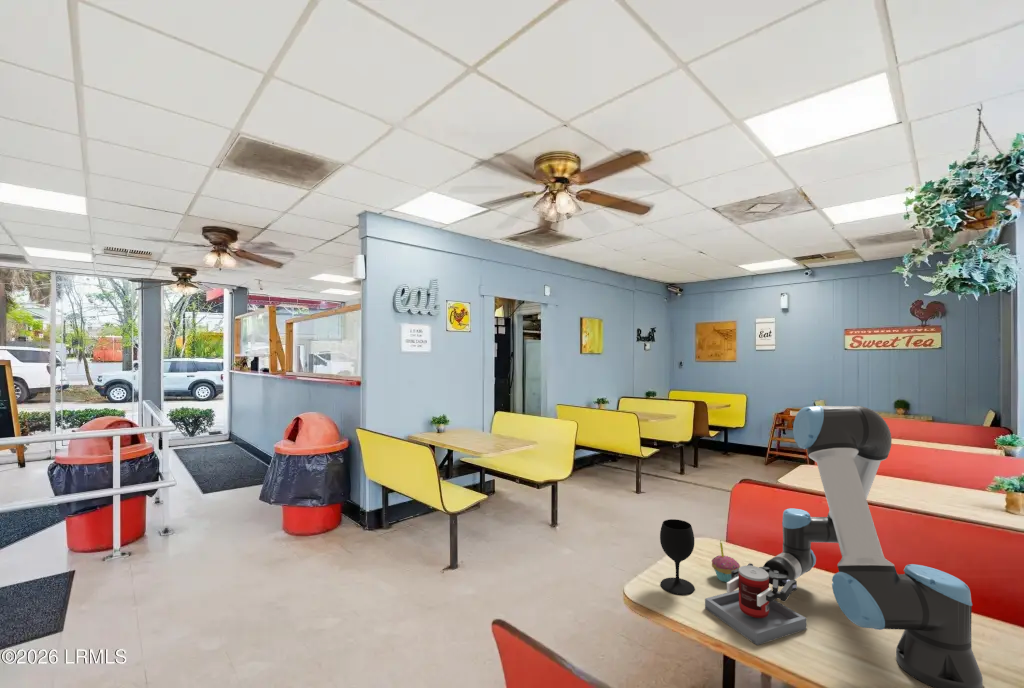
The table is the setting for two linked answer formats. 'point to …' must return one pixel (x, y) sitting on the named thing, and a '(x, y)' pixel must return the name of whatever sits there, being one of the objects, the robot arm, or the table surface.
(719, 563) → the cupcake
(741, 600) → the canned food
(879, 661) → the table surface
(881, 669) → the table surface
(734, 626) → the tray
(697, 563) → the table surface
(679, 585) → the wine glass
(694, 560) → the table surface
